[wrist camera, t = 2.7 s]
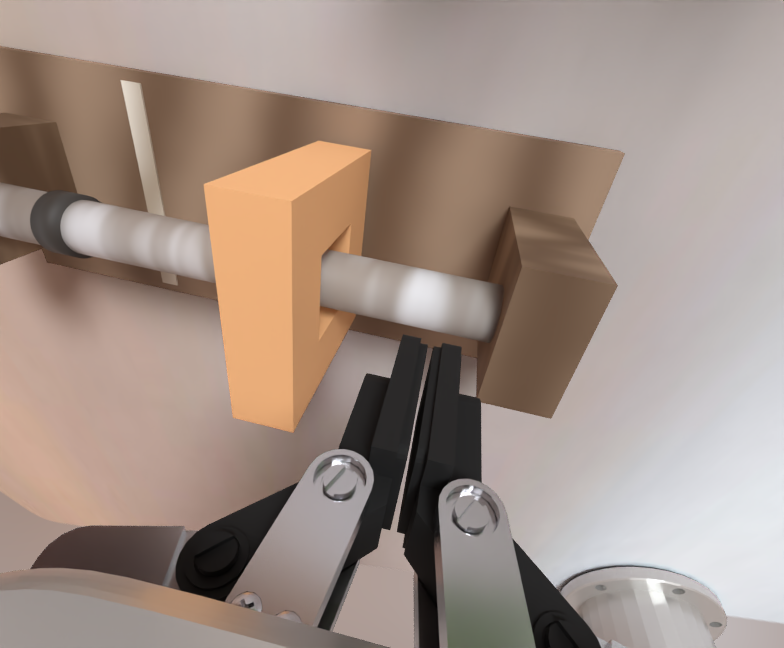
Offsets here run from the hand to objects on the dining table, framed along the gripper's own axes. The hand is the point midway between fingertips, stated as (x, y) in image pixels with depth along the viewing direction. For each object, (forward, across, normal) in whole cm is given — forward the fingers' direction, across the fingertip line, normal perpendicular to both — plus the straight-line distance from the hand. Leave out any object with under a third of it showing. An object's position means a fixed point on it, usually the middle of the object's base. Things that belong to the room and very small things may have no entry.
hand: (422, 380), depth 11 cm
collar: (+10, +6, +1) cm, 12 cm away
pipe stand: (+12, +10, +1) cm, 15 cm away
